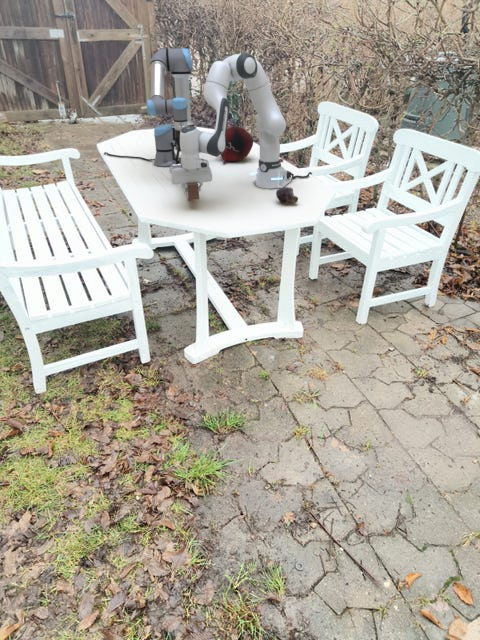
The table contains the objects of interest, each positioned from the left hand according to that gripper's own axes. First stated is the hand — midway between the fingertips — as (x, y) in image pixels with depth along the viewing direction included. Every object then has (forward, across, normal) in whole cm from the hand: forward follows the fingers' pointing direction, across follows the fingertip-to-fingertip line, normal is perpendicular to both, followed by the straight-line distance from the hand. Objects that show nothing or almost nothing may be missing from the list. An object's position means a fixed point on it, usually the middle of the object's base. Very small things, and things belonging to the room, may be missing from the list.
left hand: (184, 171), depth 259 cm
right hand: (-2, 0, -42) cm, 42 cm away
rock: (+6, +47, -47) cm, 67 cm away
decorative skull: (+6, +38, +41) cm, 56 cm away
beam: (0, 0, -21) cm, 21 cm away
